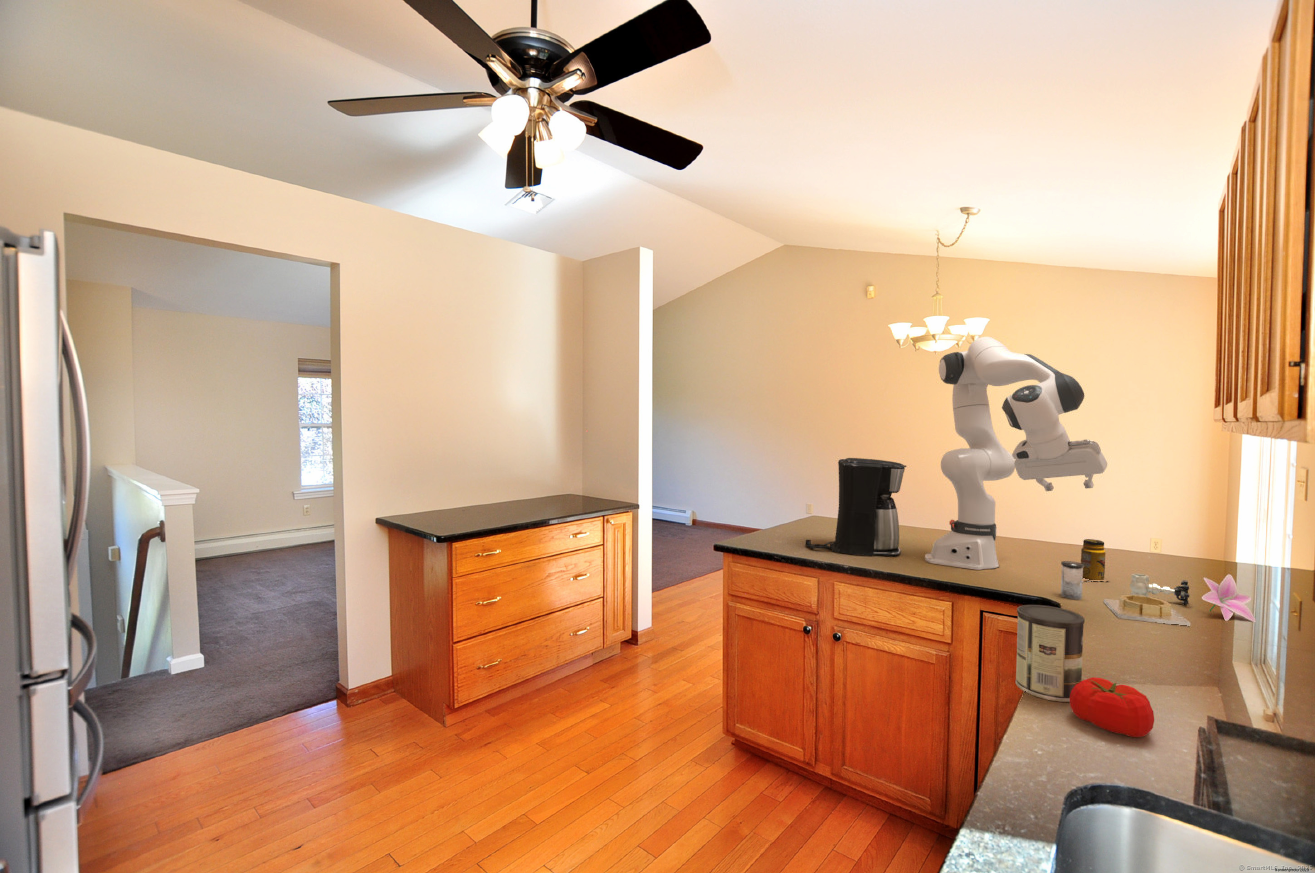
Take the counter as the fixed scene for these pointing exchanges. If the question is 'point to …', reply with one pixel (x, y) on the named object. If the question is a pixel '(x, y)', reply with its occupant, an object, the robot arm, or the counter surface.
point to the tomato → (1112, 707)
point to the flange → (1145, 609)
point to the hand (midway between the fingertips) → (1069, 488)
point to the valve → (1157, 588)
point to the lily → (1228, 598)
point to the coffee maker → (867, 508)
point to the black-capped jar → (1071, 579)
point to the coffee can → (1049, 651)
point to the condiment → (1093, 559)
